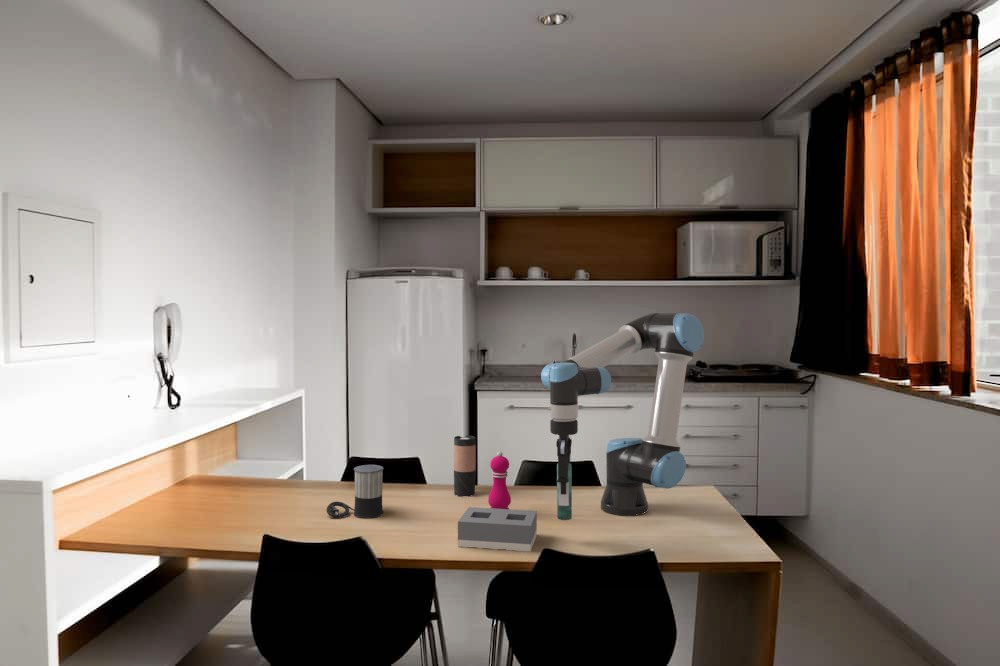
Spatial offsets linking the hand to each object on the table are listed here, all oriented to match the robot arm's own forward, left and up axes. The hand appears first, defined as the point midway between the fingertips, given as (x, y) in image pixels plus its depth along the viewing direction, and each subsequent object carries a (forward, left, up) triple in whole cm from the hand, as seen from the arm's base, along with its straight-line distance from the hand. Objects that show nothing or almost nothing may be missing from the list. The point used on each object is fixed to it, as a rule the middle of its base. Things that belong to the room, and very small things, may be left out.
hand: (564, 502), depth 194 cm
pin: (0, 0, -4) cm, 4 cm away
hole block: (+18, +1, -11) cm, 22 cm away
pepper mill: (+22, -24, -12) cm, 35 cm away
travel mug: (+38, -45, -12) cm, 60 cm away
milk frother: (+67, -14, -12) cm, 69 cm away
